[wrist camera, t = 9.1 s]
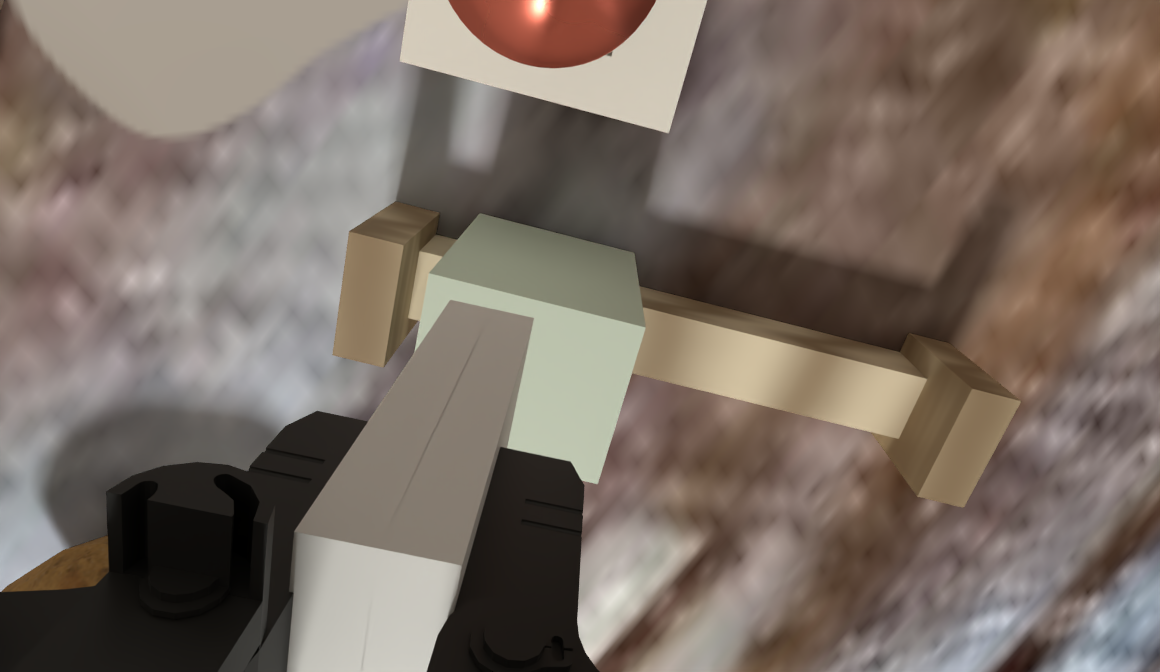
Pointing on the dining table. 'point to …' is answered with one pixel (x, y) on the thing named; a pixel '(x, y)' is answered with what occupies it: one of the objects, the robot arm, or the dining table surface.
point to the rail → (725, 359)
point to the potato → (68, 569)
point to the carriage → (552, 329)
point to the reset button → (552, 28)
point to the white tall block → (604, 86)
